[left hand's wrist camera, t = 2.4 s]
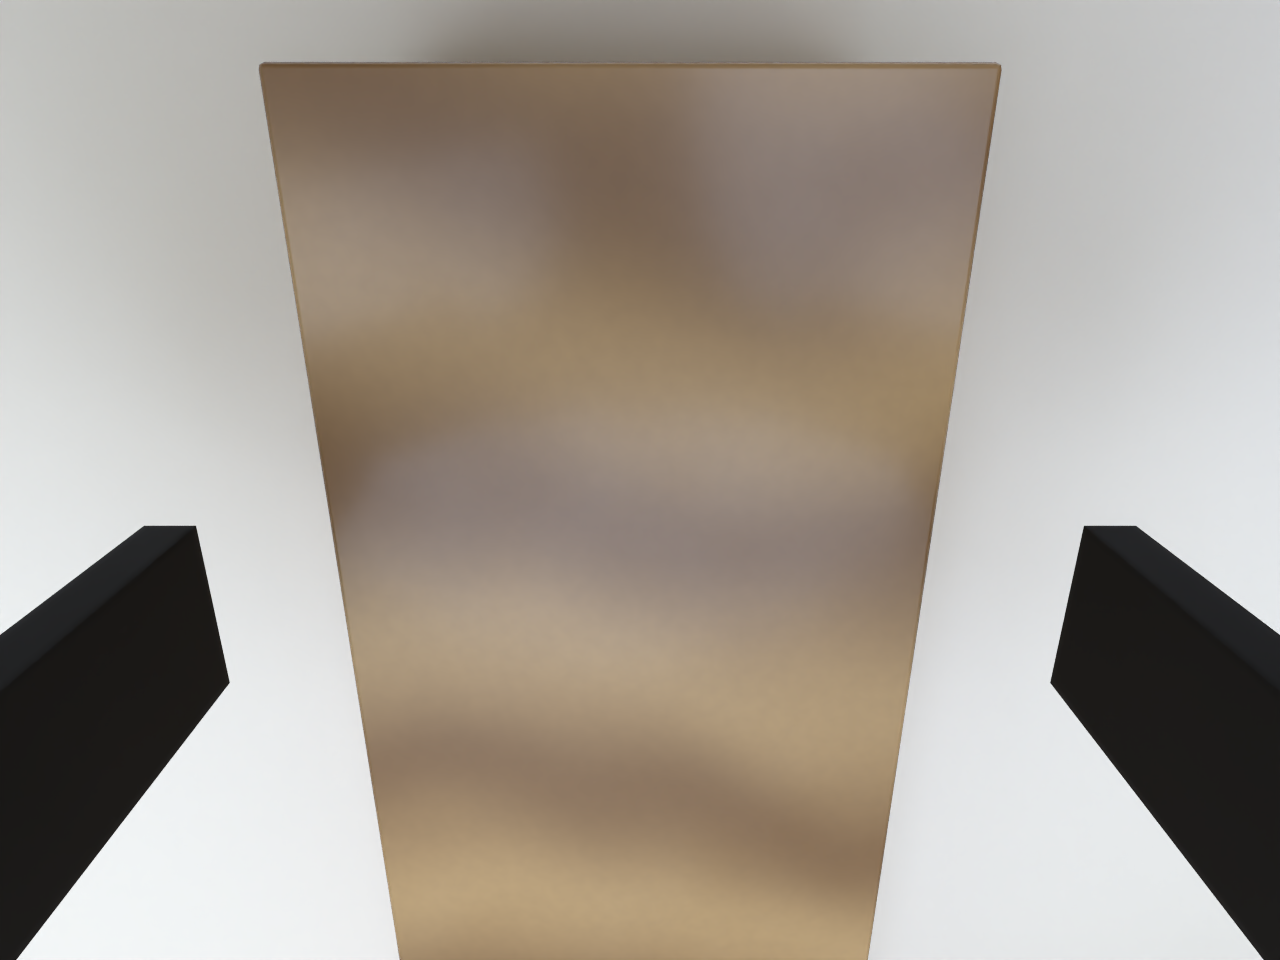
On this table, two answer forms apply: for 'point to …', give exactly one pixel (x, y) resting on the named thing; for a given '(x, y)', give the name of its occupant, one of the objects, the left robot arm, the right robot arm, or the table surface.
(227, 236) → the table surface
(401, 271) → the long beam
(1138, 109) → the table surface
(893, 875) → the table surface
